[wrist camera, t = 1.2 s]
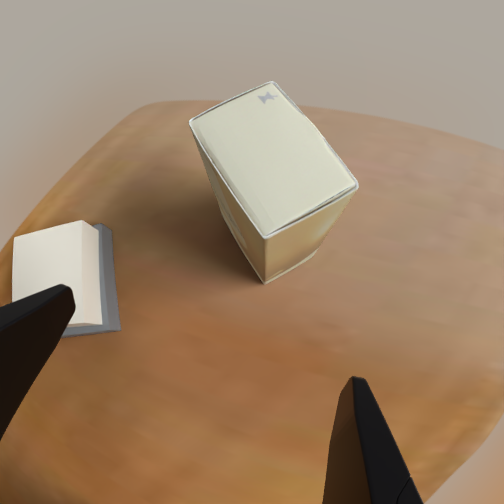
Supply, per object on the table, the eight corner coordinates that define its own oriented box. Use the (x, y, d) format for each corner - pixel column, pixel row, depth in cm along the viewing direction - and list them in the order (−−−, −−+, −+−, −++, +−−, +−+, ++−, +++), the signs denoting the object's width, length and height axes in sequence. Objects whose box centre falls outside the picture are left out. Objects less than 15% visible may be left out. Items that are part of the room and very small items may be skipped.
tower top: (102, 324, 21) (84, 322, 18) (33, 329, 21) (13, 327, 18) (98, 230, 22) (82, 219, 20) (32, 245, 23) (14, 237, 20)
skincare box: (221, 216, 24) (180, 115, 12) (270, 188, 24) (270, 73, 13) (265, 290, 23) (261, 243, 11) (318, 259, 23) (364, 183, 11)
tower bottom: (124, 330, 23) (109, 329, 21) (48, 339, 23) (30, 339, 21) (115, 233, 25) (101, 223, 23) (43, 251, 25) (26, 244, 23)
